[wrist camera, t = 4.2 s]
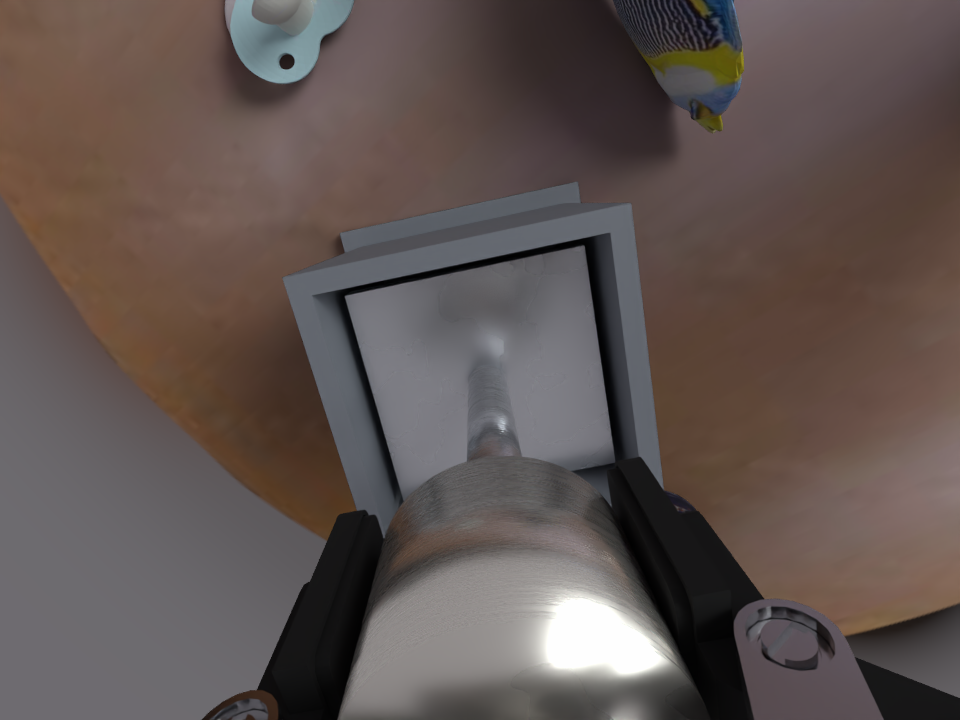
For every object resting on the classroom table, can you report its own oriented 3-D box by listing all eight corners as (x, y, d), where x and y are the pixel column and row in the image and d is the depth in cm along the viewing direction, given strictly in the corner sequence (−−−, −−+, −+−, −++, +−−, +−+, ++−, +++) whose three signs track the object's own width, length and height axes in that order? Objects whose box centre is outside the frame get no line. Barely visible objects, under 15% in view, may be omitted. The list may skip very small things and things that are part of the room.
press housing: (574, 182, 30) (658, 164, 17) (605, 399, 34) (693, 527, 21) (343, 232, 31) (244, 254, 17) (401, 440, 35) (357, 589, 21)
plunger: (579, 243, 20) (909, 364, 5) (609, 451, 23) (883, 943, 8) (350, 291, 21) (9, 540, 5) (406, 490, 23) (286, 1030, 8)
